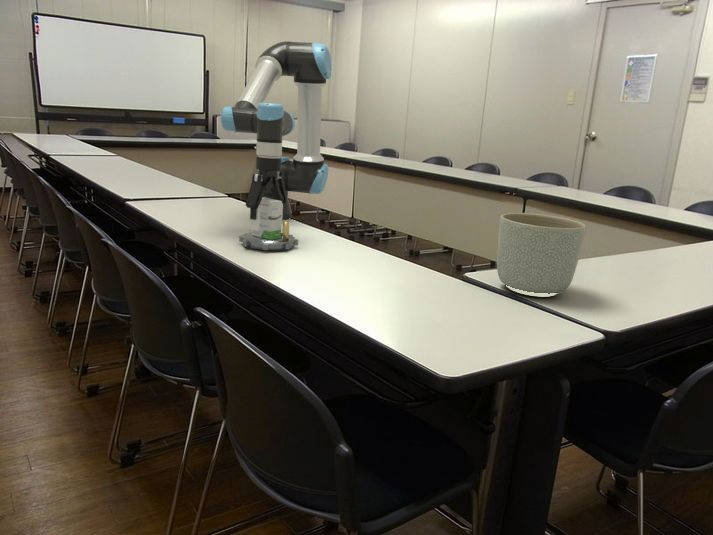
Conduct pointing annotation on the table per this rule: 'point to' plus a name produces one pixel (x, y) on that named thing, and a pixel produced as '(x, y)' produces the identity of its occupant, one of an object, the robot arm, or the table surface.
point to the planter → (538, 251)
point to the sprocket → (266, 244)
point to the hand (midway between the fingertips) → (266, 226)
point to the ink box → (269, 219)
